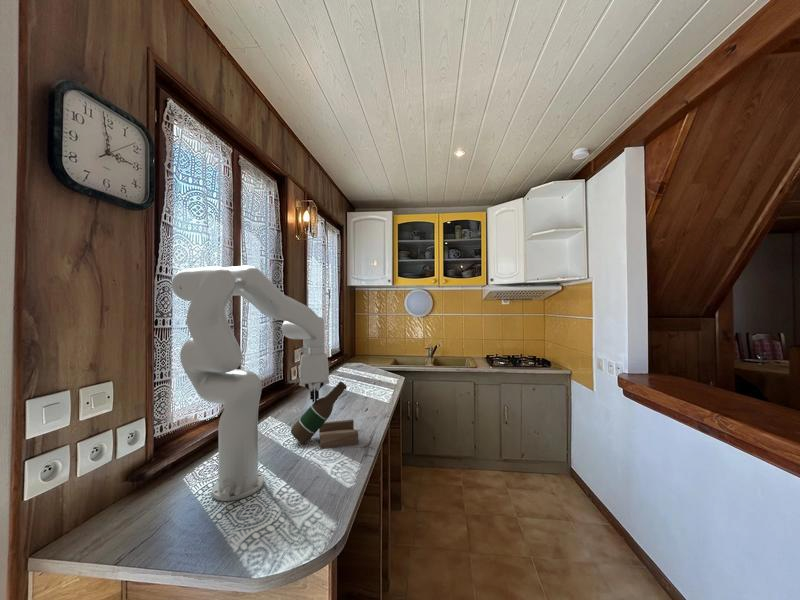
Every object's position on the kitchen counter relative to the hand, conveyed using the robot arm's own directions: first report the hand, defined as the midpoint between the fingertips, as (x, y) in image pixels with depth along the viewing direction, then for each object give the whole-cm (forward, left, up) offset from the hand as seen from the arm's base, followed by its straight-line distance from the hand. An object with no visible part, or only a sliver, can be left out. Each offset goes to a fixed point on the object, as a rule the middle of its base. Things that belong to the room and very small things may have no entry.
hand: (314, 401), depth 116 cm
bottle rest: (0, -8, -14) cm, 17 cm away
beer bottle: (0, +6, -12) cm, 14 cm away
